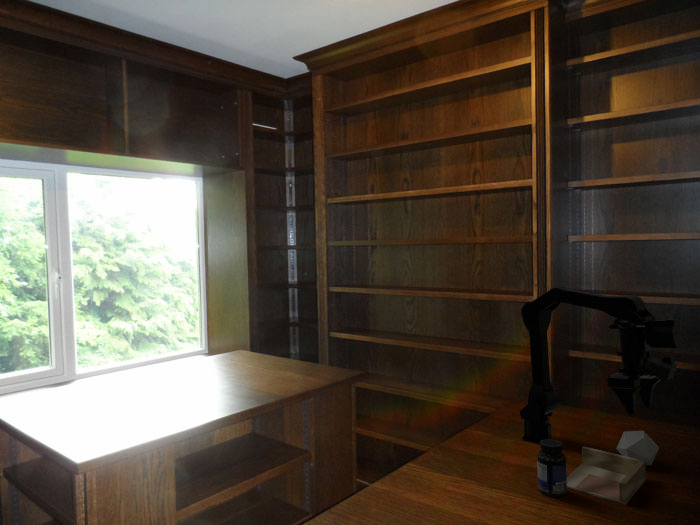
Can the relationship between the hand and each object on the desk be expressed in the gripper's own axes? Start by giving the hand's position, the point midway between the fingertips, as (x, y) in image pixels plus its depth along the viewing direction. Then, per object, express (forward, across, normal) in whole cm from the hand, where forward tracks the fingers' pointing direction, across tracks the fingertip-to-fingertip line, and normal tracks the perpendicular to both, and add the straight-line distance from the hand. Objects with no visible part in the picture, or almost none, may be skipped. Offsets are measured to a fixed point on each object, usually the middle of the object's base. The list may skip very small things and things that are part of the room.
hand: (639, 411), depth 125 cm
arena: (+14, -14, +4) cm, 20 cm away
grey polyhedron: (+14, +3, +3) cm, 15 cm away
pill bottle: (+14, -27, +9) cm, 31 cm away
